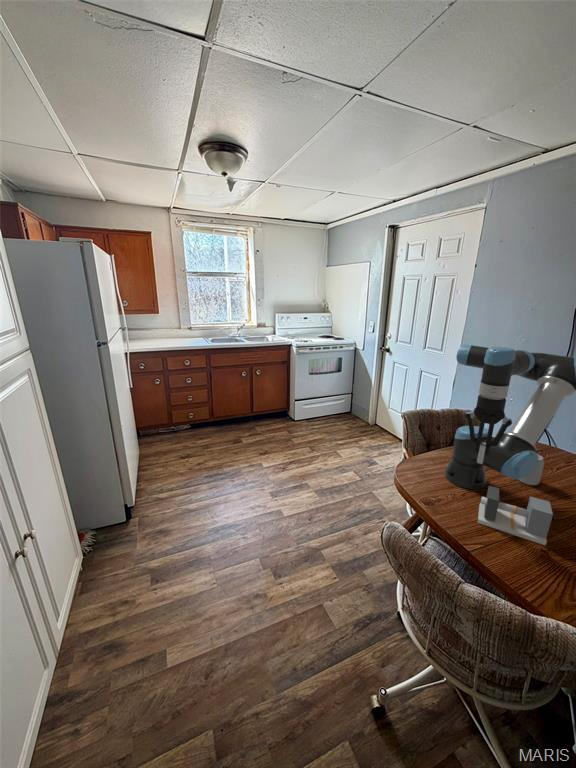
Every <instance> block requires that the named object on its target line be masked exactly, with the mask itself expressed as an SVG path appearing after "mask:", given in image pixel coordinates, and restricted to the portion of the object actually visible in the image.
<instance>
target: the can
mask: <svg viewBox="0 0 576 768" xmlns="http://www.w3.org/2000/svg"><path fill="white" fill-rule="evenodd" d="M537 455H538V462H537V463H536V466H535V468H534V469H533V471H532V472H531V473H530V474H529V475H528V476H526V477H525V478H522V479H518V480H519V481H520V482H521V483H523V484H525V485H526V486H527V485H528V486H537V485H539V484H540V482H541V478H542V473H543V469H544V466H545V460H544V457H543V456H542V455H540V454H538V453H537Z"/></svg>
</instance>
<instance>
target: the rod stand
mask: <svg viewBox="0 0 576 768" xmlns="http://www.w3.org/2000/svg"><path fill="white" fill-rule="evenodd" d="M486 503H487V498H486V497H485V496H481V500H480V503H479V505H478V518H477V524H480V525H483V526H485V527H489V528H492V529H495V530H499V531H501V532H503V533H507V534H510V535H513V536H517V537H518V538H522V539H525V540H527V541H531V542H534V543H537V544H539V545H543V546H545V547H546V545H547V542H548V541H547V537H548V534H549V529H550V526H551V524H552V519H553V516H554V513H553V510H552V506H551V501H549V500H545V499H540V498H538V497H534V496H529V500H528V504H527V507H526V508H522V507H520V506H517V505H512V504H509V503H505V502H502V501H499V504H498V509H497V513H496V518H495V521H492V520H489V519H486V518H484V511H485V505H486Z"/></svg>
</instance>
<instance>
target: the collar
mask: <svg viewBox="0 0 576 768" xmlns="http://www.w3.org/2000/svg"><path fill="white" fill-rule="evenodd" d="M486 493H487V494H486V497H485V498H487V503H486V505H485V511H484V518H486V519H489V520H492V521H495V518H496V513H497V509H498V504H499V502H500V488H499V487H496V486H491V485H488V489H487V492H486Z"/></svg>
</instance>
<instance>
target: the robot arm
mask: <svg viewBox="0 0 576 768" xmlns="http://www.w3.org/2000/svg"><path fill="white" fill-rule="evenodd" d="M455 357H456V361H457V363H458V364H459V365H462V366H465V367H472V368H478V369H482V373H481V378H480V379H481V380H480V384H479V390H478V393H479V394H478V396H477V401H476V407H475V408H474V409H473V410H472V411H466V413H465V418H466V419H467V422H468V425H463V426H460V427H458V428H457V429H456V431H455V436H454V442H453V446H452V447H453V449H452V456H451V459H450V461H449V462H448V464H447V465H446V467H445V470H444V477H445V476H446V477H445V478H446V479H447V481H449V482H450V483H451V484H454V485H456V486H458V487H460V488H464V489H470V490H480V489H481V490H482V489H484V487H485V486H486V484H487V475H486V471H485V470H486V469H485V467H487V468H489V469H491V470H493V471H495V472H498V473H499V474H502V475H503V476H504V477H508V478H511V479H514V480H519V479H522V478H525V477H526V476H528V475H529V474H530V473H531V472H532V471H533V469H534V468H535V466H536V463H537V462H538V455H539V454H538V453H537V450H538V449H537V448H536V443H537V441H538V439H540V436H541V435H542V434H543V432H544V430H545V429H546V427H547V425H548V424H549V422H550V421H551V419H552V418H553V416H554V415H555V413H556V412H557V410H558V408H559V407H560V405H561V404H562V403H563V401H564V400H565V398H566V397H569V396H572V395H573V394H574V393H575V392H576V356H567V355H559V354H552V353H551V354H550V353H546V352H545V353H543V352H530V351H527V350H520V349H517V350H515V349H514V348H511V347H506V346H505V347H504V346H492V347H491V346H490V347H487V346H481V345H480V346H479V345H472V344H462V345H461V346H460V347H459V348H458V350H457V351H456V355H455ZM512 376H518V377H521V378H525V379H528V380H531V381H534V382H535V381H536V382H537V383H536V384H537V385H538V387H537V388H536V390H535V391H534V393H533V394H532V396H531V397H530V398H529V400H528V402H527V403H526V404H525V406H524V408H523V409H522V411H521V413H520V414H519V415H518V417H517V419H516V420H515V421H514V423H513V421H512V418H508V417H507V415H506V414H505V408H506V402H507V397H508V395H509V394H508V392H509V387H510V383H511V378H512ZM475 417H476V418H477V420H478V421H479V426H477V425H474V418H475ZM501 421H502V423H501V426H500V427H499V429H498V431H497V433H496V434H495V436H493V434H494V428H495V425H496V424H498V423H499V422H501ZM485 424H487V425H488V428H487V427H485ZM512 424H513V425H512ZM511 425H512V426H511ZM510 426H511V428H510V429H509V431H508V432H506V430H507V429H508V428H509V427H510ZM537 454H538V455H537Z"/></svg>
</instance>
